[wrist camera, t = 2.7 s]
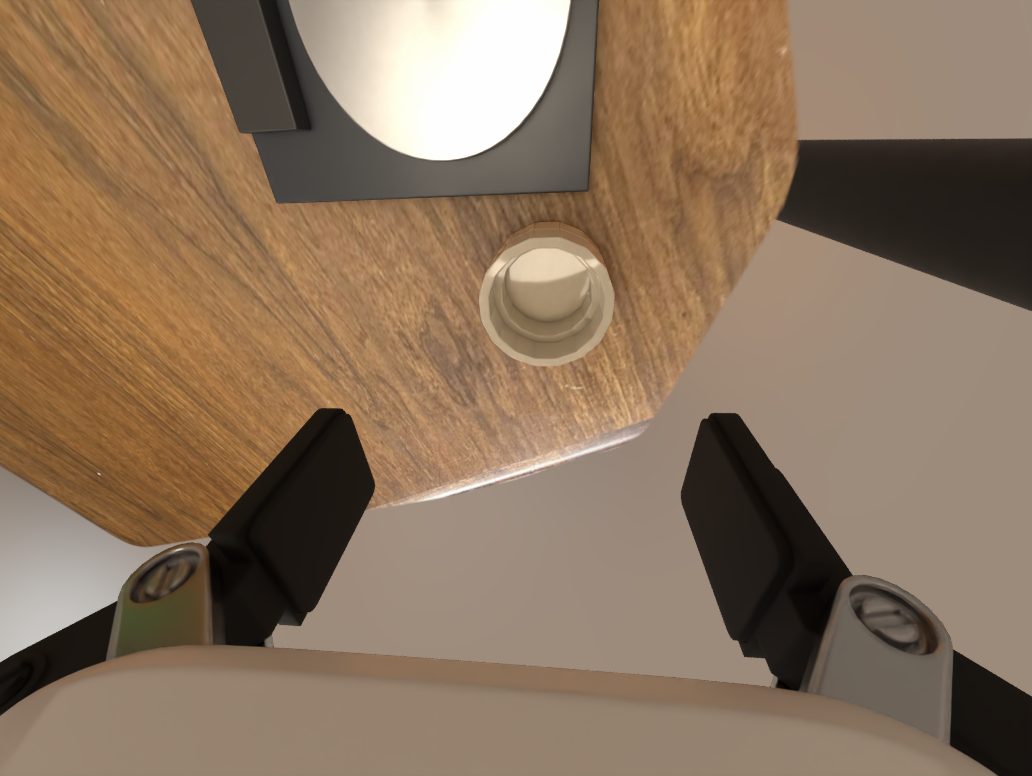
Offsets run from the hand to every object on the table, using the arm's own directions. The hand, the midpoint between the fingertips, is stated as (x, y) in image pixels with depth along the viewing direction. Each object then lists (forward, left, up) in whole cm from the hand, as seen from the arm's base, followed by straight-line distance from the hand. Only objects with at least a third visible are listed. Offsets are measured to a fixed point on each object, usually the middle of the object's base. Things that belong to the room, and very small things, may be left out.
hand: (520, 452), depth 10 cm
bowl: (0, 0, -15) cm, 15 cm away
